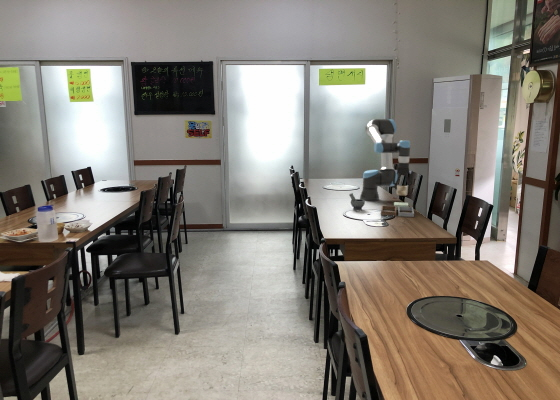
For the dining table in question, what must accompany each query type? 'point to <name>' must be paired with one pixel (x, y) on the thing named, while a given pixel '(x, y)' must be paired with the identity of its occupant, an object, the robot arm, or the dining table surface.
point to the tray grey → (405, 210)
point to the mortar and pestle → (356, 202)
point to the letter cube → (402, 190)
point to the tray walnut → (388, 209)
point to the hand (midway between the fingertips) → (401, 194)
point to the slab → (400, 205)
